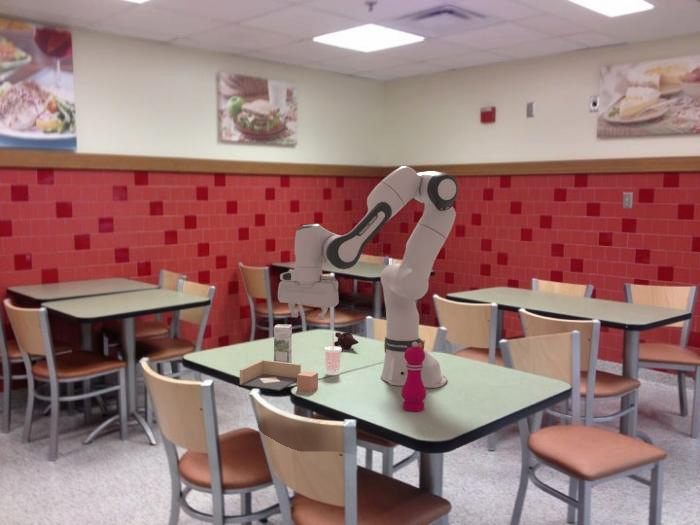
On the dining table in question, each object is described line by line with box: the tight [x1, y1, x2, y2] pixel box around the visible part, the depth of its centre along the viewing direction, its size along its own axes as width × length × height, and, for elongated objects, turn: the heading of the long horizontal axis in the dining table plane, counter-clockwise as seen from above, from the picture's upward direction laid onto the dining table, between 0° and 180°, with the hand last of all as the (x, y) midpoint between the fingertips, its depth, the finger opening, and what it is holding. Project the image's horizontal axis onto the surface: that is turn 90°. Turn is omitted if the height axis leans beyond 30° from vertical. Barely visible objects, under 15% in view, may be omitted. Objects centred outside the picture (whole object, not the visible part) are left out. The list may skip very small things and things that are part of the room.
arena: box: [239, 359, 302, 392], centre depth 213 cm, size 15×15×5 cm
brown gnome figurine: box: [334, 331, 359, 350], centre depth 262 cm, size 7×7×15 cm
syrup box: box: [273, 323, 293, 363], centre depth 236 cm, size 6×6×14 cm
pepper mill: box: [401, 342, 427, 413], centre depth 187 cm, size 7×7×20 cm
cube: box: [296, 370, 319, 393], centre depth 206 cm, size 5×5×5 cm
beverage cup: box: [323, 333, 343, 376], centre depth 224 cm, size 6×6×14 cm
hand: (307, 318), depth 204 cm, fingers open, 8 cm apart
